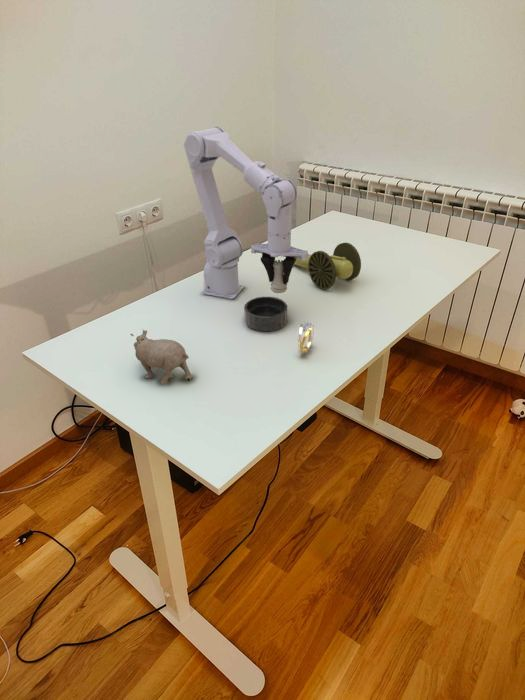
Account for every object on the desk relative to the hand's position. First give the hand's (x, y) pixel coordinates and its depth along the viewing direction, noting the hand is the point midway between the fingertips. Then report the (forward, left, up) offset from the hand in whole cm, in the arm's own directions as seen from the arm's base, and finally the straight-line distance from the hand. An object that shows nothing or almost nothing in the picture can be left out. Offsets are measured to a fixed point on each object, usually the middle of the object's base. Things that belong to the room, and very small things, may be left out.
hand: (278, 281), depth 131 cm
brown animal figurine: (-16, -35, -10) cm, 39 cm away
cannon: (+5, +25, -10) cm, 28 cm away
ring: (+13, -16, -10) cm, 22 cm away
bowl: (-1, -6, -9) cm, 11 cm away
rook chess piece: (0, 0, -3) cm, 3 cm away
